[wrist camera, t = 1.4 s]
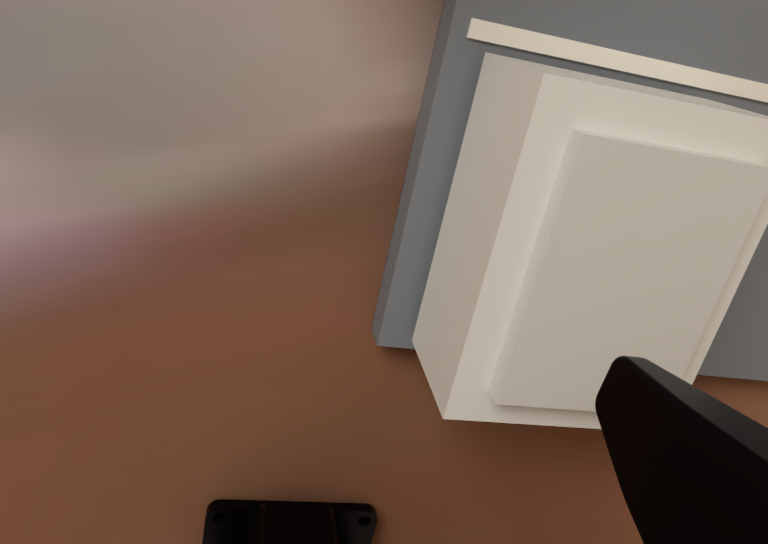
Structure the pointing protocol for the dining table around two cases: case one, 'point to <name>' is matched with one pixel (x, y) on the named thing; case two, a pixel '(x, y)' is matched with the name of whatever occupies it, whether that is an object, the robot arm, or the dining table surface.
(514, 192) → the cover
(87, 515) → the dining table surface
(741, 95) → the board
